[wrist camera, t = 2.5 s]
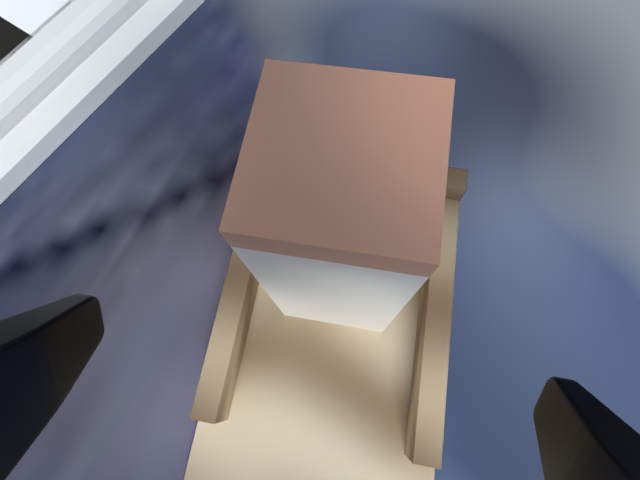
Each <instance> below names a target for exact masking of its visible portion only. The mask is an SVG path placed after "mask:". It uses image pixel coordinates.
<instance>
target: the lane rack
mask: <svg viewBox="0 0 640 480" xmlns="http://www.w3.org/2000/svg"><path fill="white" fill-rule="evenodd" d="M467 172H468V170H466V169H459V168H451V167H448V173H447V185H446V197H445V209H444V221H443V234H442V246H441V258H440V265H439V267H438V268H437V269H436V270H435V271H434V272H433V274H432V275H431V276H430V277H429V278H428V279H427V281H426V282H425V283H424V284H423V285H422V286H421V288H420V289H419V290H418V291H417V292H416V293H415V294H414V296H413V297H412V298H411V299H410V300H409V301H408V303H407V304H406V305H405V306H404V307H403V308H402V310H401V311H400V312H399V313H398V314H397V315H396V317H395V318H394V319H393V320H392V321H391V322H390V324H389V325H388V326H387V327H386V328H385V329H384V330H383V332H380V331H374V330H368V329H363V328H357V327H351V326H345V325H339V324H333V323H327V322H322V321H316V320H310V319H304V318H298V317H292V316H286V315H284V314H283V313H282V311H281V310H280V309H279V307H278V306H277V305H276V304H275V302H274V301H273V300H272V299H271V297H270V296H269V295H268V293H267V292H266V291H265V290H264V288H263V287H262V286H261V285H260V283H259V282H258V281H257V279H256V278H255V277H254V276H253V274H252V273H251V272H250V271H249V269H248V268H247V267H246V265H245V264H244V263H243V262H242V260H241V259H240V258H239V257H238V255H237V254H236V253H235V251H234V250H233V251H232V255H231V259H230V263H229V266H228V270H227V274H226V278H225V282H224V286H223V290H222V294H221V298H220V302H219V306H218V309H217V313H216V317H215V321H214V325H213V329H212V333H211V337H210V341H209V345H208V349H207V352H206V356H205V360H204V364H203V368H202V372H201V376H200V380H199V384H198V388H197V391H196V395H195V399H194V403H193V407H192V411H191V415H190V419H192V420H197V421H198V424H197V428H196V432H195V436H194V440H193V444H192V448H191V452H190V456H189V460H188V464H187V468H186V472H185V476H184V480H434V475H435V468H436V469H441V462H442V448H443V434H444V419H445V405H446V391H447V376H448V362H449V348H450V333H451V318H452V304H453V290H454V275H455V261H456V246H457V233H458V218H459V202H460V199H461V198H462V196H463V195H464V193H465V192H466V189H467Z"/></svg>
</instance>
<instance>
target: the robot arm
mask: <svg viewBox="0 0 640 480" xmlns="http://www.w3.org/2000/svg"><path fill="white" fill-rule="evenodd" d="M103 334H104V324H103V318H102V313H101V308H100V303H99V300H98V299H97V298H96V297H94V296H88V295H83V294H74V295H71V296H68V297H65V298H63V299H60V300H57V301H54V302H51V303H48V304H45V305H43V306H40V307H37V308H34V309H31V310H28V311H25V312H23V313H20V314H17V315H14V316H11V317H8V318H6V319H3V320H0V480H5V479H6V478H7V476H8V475H9V474H10V473H11V471H12V470H13V469H14V467H15V466H16V465H17V463H18V462H19V461H20V459H21V458H22V457H23V455H24V454H25V453H26V451H27V450H28V449H29V447H30V446H31V445H32V443H33V442H34V441H35V439H36V438H37V437H38V435H39V434H40V433H41V431H42V430H43V429H44V427H45V426H46V425H47V423H48V422H49V421H50V419H51V418H52V417H53V415H54V414H55V413H56V411H57V410H58V409H59V407H60V406H61V404H62V403H63V401H64V400H65V398H66V397H67V395H68V394H69V392H70V390H71V389H72V387H73V386H74V384H75V382H76V381H77V379H78V377H79V376H80V374H81V373H82V371H83V369H84V368H85V366H86V364H87V363H88V361H89V360H90V358H91V356H92V355H93V353H94V351H95V350H96V348H97V347H98V345H99V343H100V342H101V340H102V337H103ZM534 424H535V430H536V435H537V440H538V446H539V452H540V457H541V463H542V468H543V474H544V479H545V480H640V434H639V433H637V432H636V431H635V430H634V429H633V428H631V427H630V426H629V425H628V424H626V423H625V422H624V421H623V420H622V419H621V418H619V417H618V416H617V415H616V414H614V413H613V412H612V411H611V410H610V409H609V408H607V407H606V406H605V405H604V404H603V403H601V402H600V401H599V400H598V399H597V398H596V397H594V396H593V395H592V394H591V393H590V392H588V391H587V390H586V389H585V388H584V387H582V386H581V385H580V384H579V383H577V382H576V381H574V380H571V379H565V378H559V377H551V378H549V379H548V380H547V382H546V383H545V386H544V388H543V390H542V392H541V394H540V396H539V399H538V401H537V403H536V405H535V408H534Z"/></svg>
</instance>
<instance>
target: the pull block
mask: <svg viewBox="0 0 640 480" xmlns="http://www.w3.org/2000/svg"><path fill="white" fill-rule="evenodd" d="M454 88H455V79H449V78H440V77H430V76H421V75H412V74H403V73H394V72H385V71H376V70H367V69H358V68H348V67H339V66H330V65H321V64H312V63H303V62H294V61H285V60H275V59H266V58H265V62H264V66H263V69H262V73H261V77H260V80H259V84H258V88H257V91H256V95H255V99H254V102H253V106H252V110H251V113H250V117H249V121H248V125H247V128H246V132H245V136H244V139H243V143H242V147H241V150H240V154H239V158H238V161H237V165H236V169H235V172H234V176H233V180H232V183H231V187H230V191H229V194H228V198H227V202H226V205H225V209H224V213H223V216H222V220H221V224H220V227H219V232H220V234H221V235H222V236H223V237H224V239H225V240H226V241H227V243H228V244H229V245H230V246H231V248H232V249H233V250H234V251H235V253H236V254H237V255H238V257H239V258H240V259H241V260H242V262H243V263H244V264H245V265H246V267H247V268H248V269H249V271H250V272H251V273H252V274H253V276H254V277H255V278H256V279H257V281H258V282H259V283H260V285H261V286H262V287H263V288H264V290H265V291H266V292H267V293H268V295H269V296H270V297H271V299H272V300H273V301H274V302H275V304H276V305H277V306H278V307H279V309H280V310H281V311H282V313H283V314H284V315H286V316H292V317H298V318H304V319H310V320H316V321H322V322H327V323H333V324H339V325H345V326H351V327H357V328H363V329H368V330H374V331H380V332H383V330H384V329H385V328H386V327H387V326H388V325H389V324H390V322H391V321H392V320H393V319H394V318H395V317H396V315H397V314H398V313H399V312H400V311H401V310H402V308H403V307H404V306H405V305H406V304H407V303H408V301H409V300H410V299H411V298H412V297H413V296H414V294H415V293H416V292H417V291H418V290H419V289H420V288H421V286H422V285H423V284H424V283H425V282H426V281H427V279H428V278H429V277H430V276H431V275H432V274H433V272H434V271H435V270H436V269H437V268H438V267H439V265H440V258H441V246H442V234H443V221H444V209H445V197H446V185H447V173H448V161H449V148H450V136H451V124H452V111H453V100H454Z"/></svg>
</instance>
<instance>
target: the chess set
mask: <svg viewBox="0 0 640 480" xmlns="http://www.w3.org/2000/svg"><path fill="white" fill-rule="evenodd" d="M204 1H205V0H0V204H1V203H2V202H3V201H4V200H5V199H6V198H7V197H8V196H9V195H10V194H11V193H12V192H13V191H14V190H15V189H16V188H17V187H18V186H19V185H20V184H21V183H22V182H23V181H24V180H25V179H26V178H27V177H28V176H29V175H30V174H31V173H32V172H33V171H34V170H35V169H36V168H37V167H38V166H39V165H40V164H41V163H42V162H43V161H44V160H45V159H46V158H47V157H48V156H49V155H50V154H51V153H52V152H53V151H54V150H55V149H56V148H57V147H58V146H59V145H60V144H61V143H62V142H63V141H64V140H65V139H66V138H67V137H68V136H69V135H70V134H71V133H72V132H73V131H74V130H75V129H76V128H77V127H78V126H79V125H80V124H81V123H83V122H84V121H85V120H86V119H87V118H88V117H89V116H90V115H91V114H92V113H93V112H94V111H95V110H96V109H97V108H98V107H99V106H100V105H101V104H102V103H103V102H104V101H105V100H106V99H107V98H108V97H109V96H110V95H111V94H112V93H113V92H114V91H115V90H116V89H117V88H118V87H119V86H120V85H121V84H122V83H123V82H124V81H125V80H126V79H127V78H128V77H129V76H130V75H131V74H132V73H133V72H134V71H135V70H136V69H137V68H138V67H139V66H140V65H141V64H142V63H143V62H144V61H145V60H146V59H147V58H148V57H149V56H150V55H151V54H152V53H153V52H154V51H155V50H156V49H157V48H158V47H159V46H160V45H161V44H162V43H163V42H164V41H165V40H166V39H167V38H168V37H169V36H170V35H171V34H172V33H173V32H174V31H175V30H176V29H177V28H178V27H179V26H180V25H181V24H182V23H183V22H184V21H185V20H186V19H187V18H188V17H189V16H190V15H191V14H192V13H193V12H194V11H195V10H196V9H197V8H198V7H199V6H200V5H201V4H202V3H203V2H204Z"/></svg>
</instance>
